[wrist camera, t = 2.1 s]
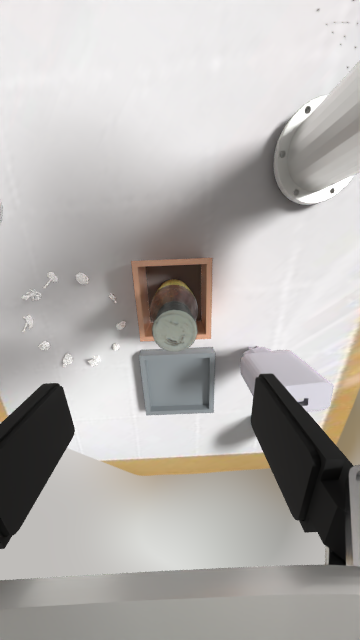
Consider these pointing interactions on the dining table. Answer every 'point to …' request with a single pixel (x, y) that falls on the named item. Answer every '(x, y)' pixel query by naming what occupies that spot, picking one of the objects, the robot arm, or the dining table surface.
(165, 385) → the tray
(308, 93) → the dining table surface
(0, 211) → the french press
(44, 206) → the dining table surface
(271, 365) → the charger
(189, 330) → the sauce bottle
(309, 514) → the robot arm
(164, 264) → the open terracotta box
